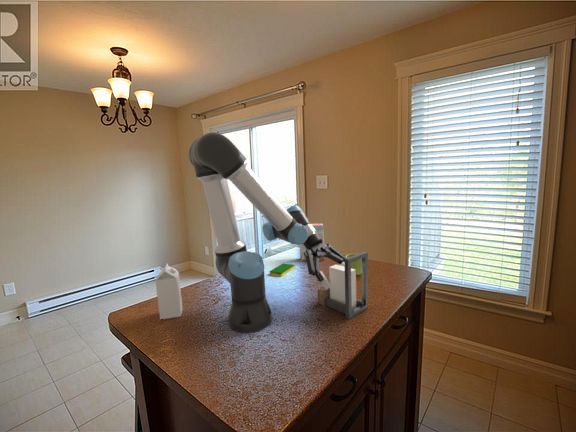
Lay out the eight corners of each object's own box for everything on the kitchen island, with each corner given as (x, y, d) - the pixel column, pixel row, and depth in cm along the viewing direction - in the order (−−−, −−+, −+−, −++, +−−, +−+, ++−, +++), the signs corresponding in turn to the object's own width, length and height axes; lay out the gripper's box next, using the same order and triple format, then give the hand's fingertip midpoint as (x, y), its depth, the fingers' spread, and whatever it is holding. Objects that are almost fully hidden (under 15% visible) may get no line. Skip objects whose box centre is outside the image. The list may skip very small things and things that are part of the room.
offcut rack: (349, 319, 96) (348, 259, 93) (323, 308, 104) (321, 253, 101) (368, 307, 103) (367, 252, 100) (342, 298, 112) (341, 247, 109)
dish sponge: (294, 269, 151) (294, 264, 150) (281, 277, 139) (281, 273, 138) (283, 267, 154) (282, 263, 154) (269, 275, 142) (269, 271, 142)
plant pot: (369, 274, 136) (369, 257, 134) (353, 278, 132) (352, 260, 131) (357, 269, 144) (357, 252, 143) (342, 272, 141) (341, 255, 140)
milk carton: (160, 320, 101) (153, 270, 99) (163, 311, 108) (157, 264, 105) (180, 316, 103) (175, 267, 100) (182, 308, 110) (177, 261, 107)
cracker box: (324, 257, 166) (323, 223, 163) (324, 260, 160) (323, 224, 157) (300, 258, 168) (299, 223, 165) (300, 261, 162) (298, 225, 159)
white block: (349, 312, 100) (349, 272, 98) (330, 304, 107) (329, 267, 105) (356, 308, 103) (355, 269, 101) (336, 301, 109) (336, 264, 107)
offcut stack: (323, 305, 107) (323, 290, 106) (318, 303, 109) (317, 288, 108) (337, 298, 112) (336, 284, 111) (331, 296, 114) (330, 282, 113)
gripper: (325, 237, 125) (353, 277, 117) (283, 249, 109) (312, 297, 100) (334, 227, 120) (364, 268, 112) (291, 238, 104) (323, 288, 95)
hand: (340, 282), depth 106 cm, fingers open, 13 cm apart
